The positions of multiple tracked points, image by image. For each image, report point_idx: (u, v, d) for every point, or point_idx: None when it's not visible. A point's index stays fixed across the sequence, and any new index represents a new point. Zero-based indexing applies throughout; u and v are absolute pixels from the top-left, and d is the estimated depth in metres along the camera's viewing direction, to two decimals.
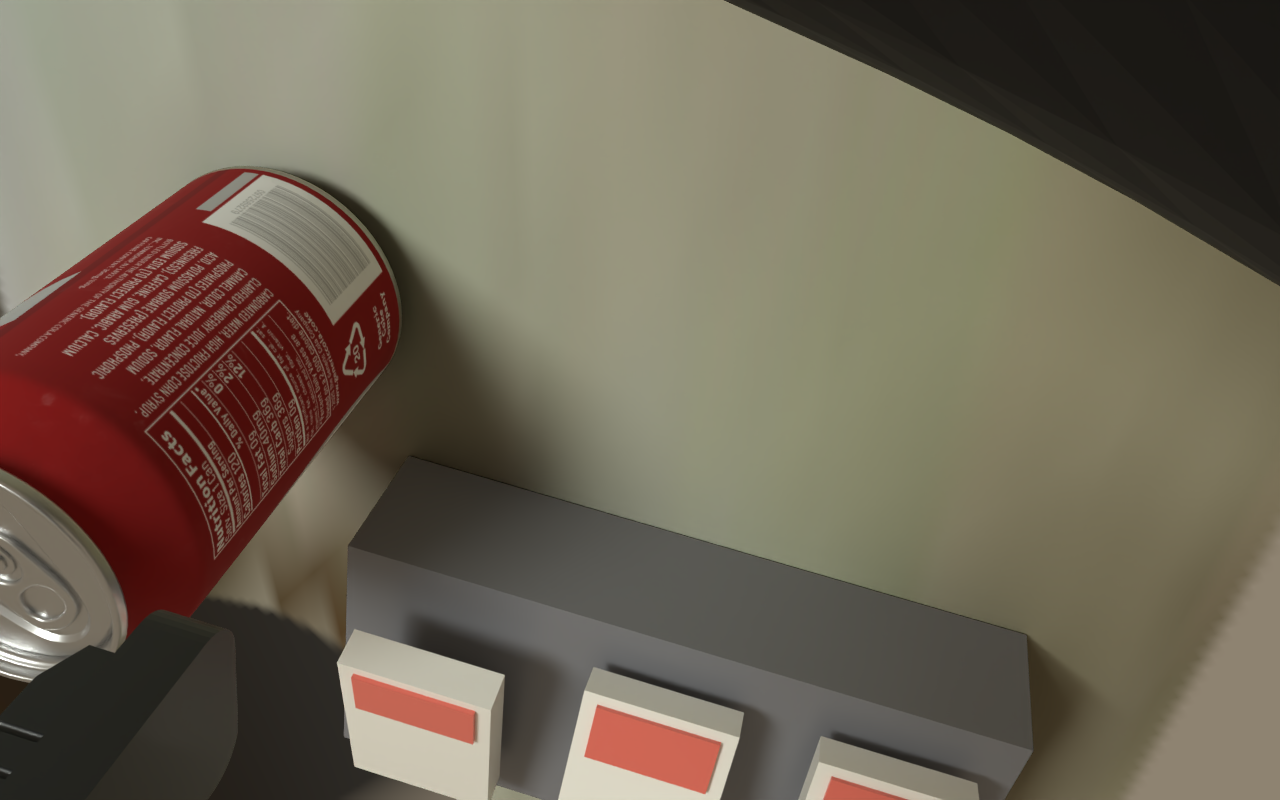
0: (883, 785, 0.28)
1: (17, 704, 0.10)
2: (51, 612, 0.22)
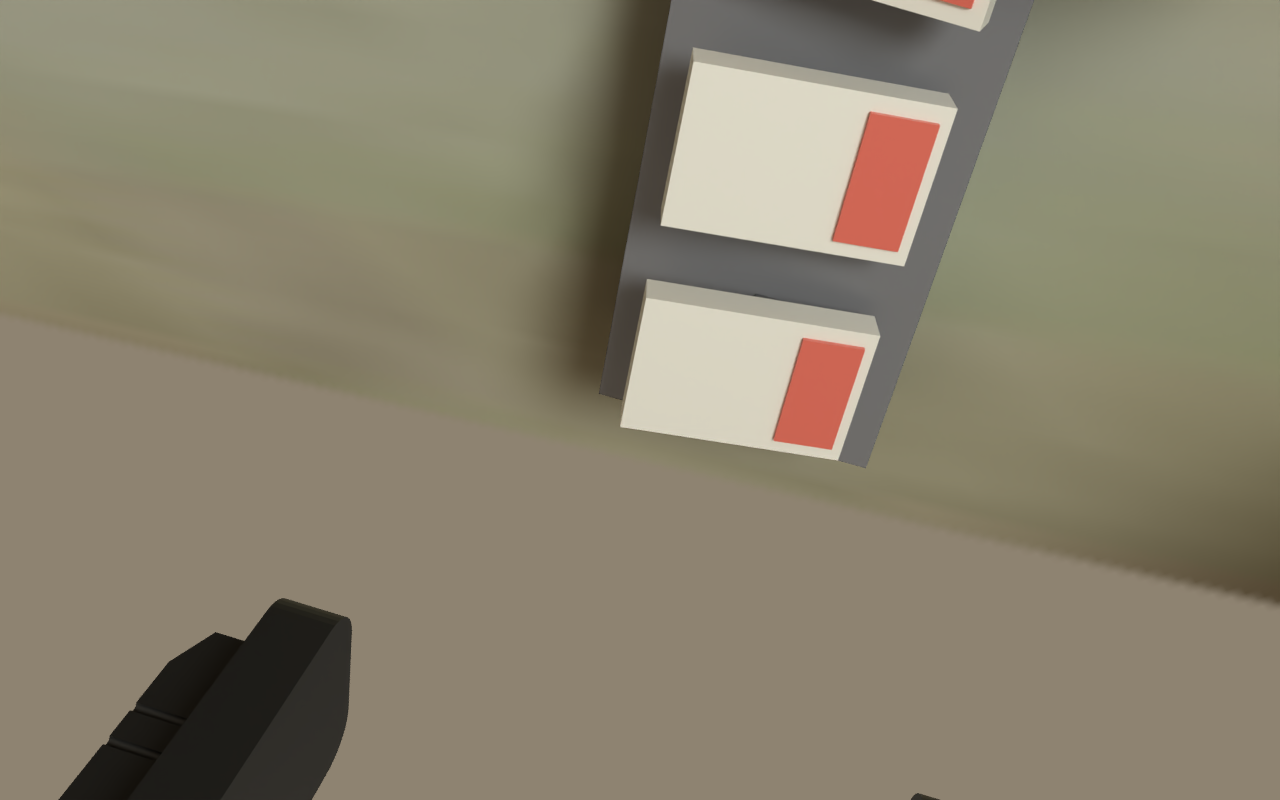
0: (856, 388, 0.30)
1: (154, 688, 0.11)
2: None
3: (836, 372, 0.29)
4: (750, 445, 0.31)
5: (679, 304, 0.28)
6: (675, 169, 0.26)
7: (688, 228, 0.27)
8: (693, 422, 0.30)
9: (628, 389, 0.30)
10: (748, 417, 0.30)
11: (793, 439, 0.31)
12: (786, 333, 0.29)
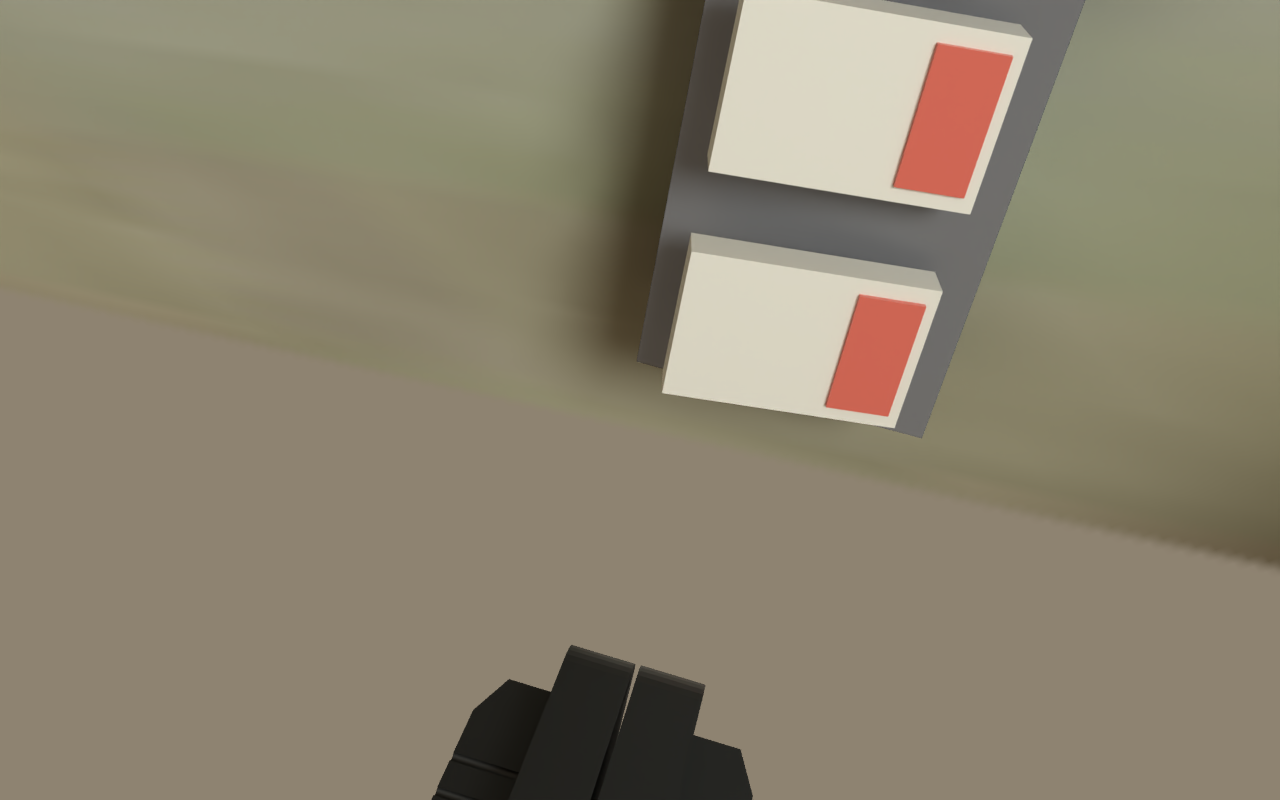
0: (915, 349, 0.28)
1: (468, 737, 0.11)
2: None
3: (894, 332, 0.27)
4: (800, 412, 0.29)
5: (727, 258, 0.26)
6: (725, 109, 0.24)
7: (737, 174, 0.25)
8: (740, 387, 0.28)
9: (671, 352, 0.28)
10: (799, 382, 0.28)
11: (847, 405, 0.29)
12: (841, 289, 0.27)
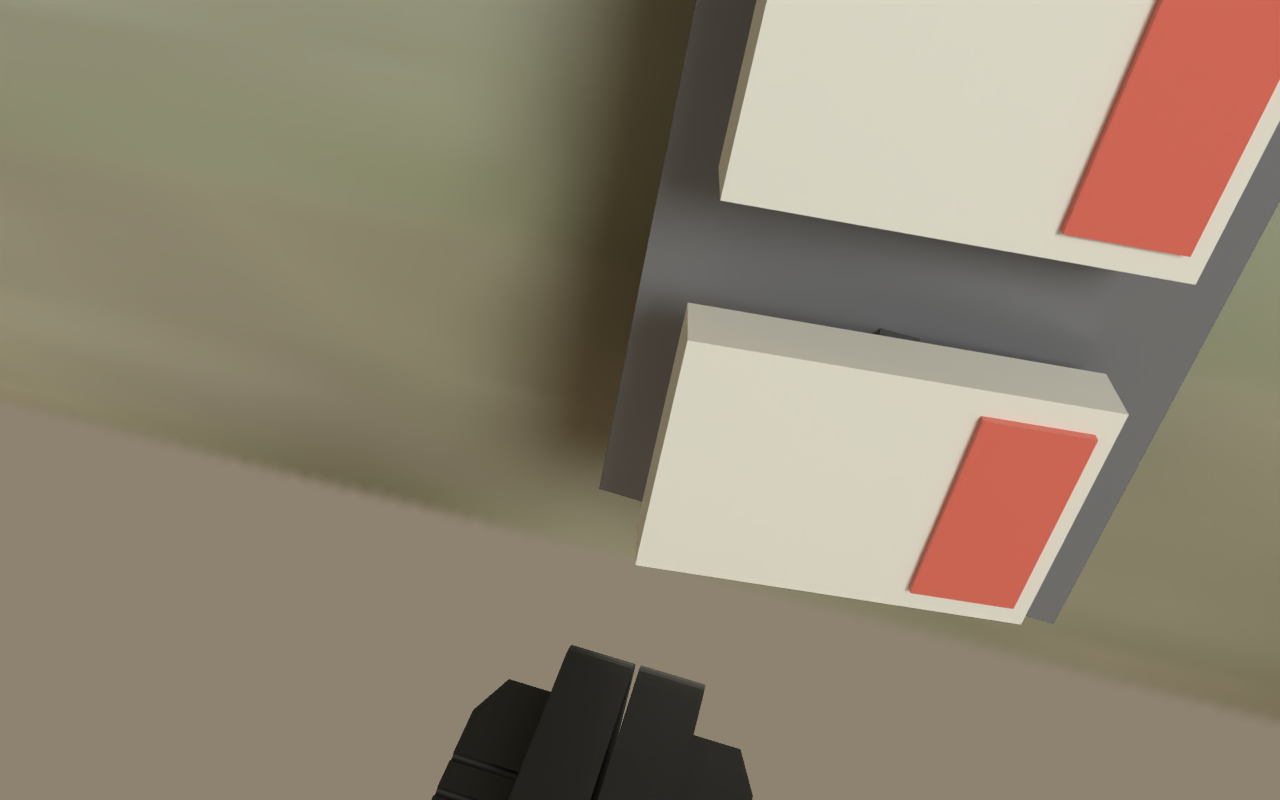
0: (1070, 505, 0.16)
1: (468, 737, 0.11)
2: None
3: (1036, 478, 0.16)
4: (866, 598, 0.17)
5: (751, 353, 0.15)
6: (754, 84, 0.13)
7: (773, 206, 0.14)
8: (767, 559, 0.17)
9: (651, 502, 0.16)
10: (866, 552, 0.17)
11: (945, 590, 0.17)
12: (950, 408, 0.15)
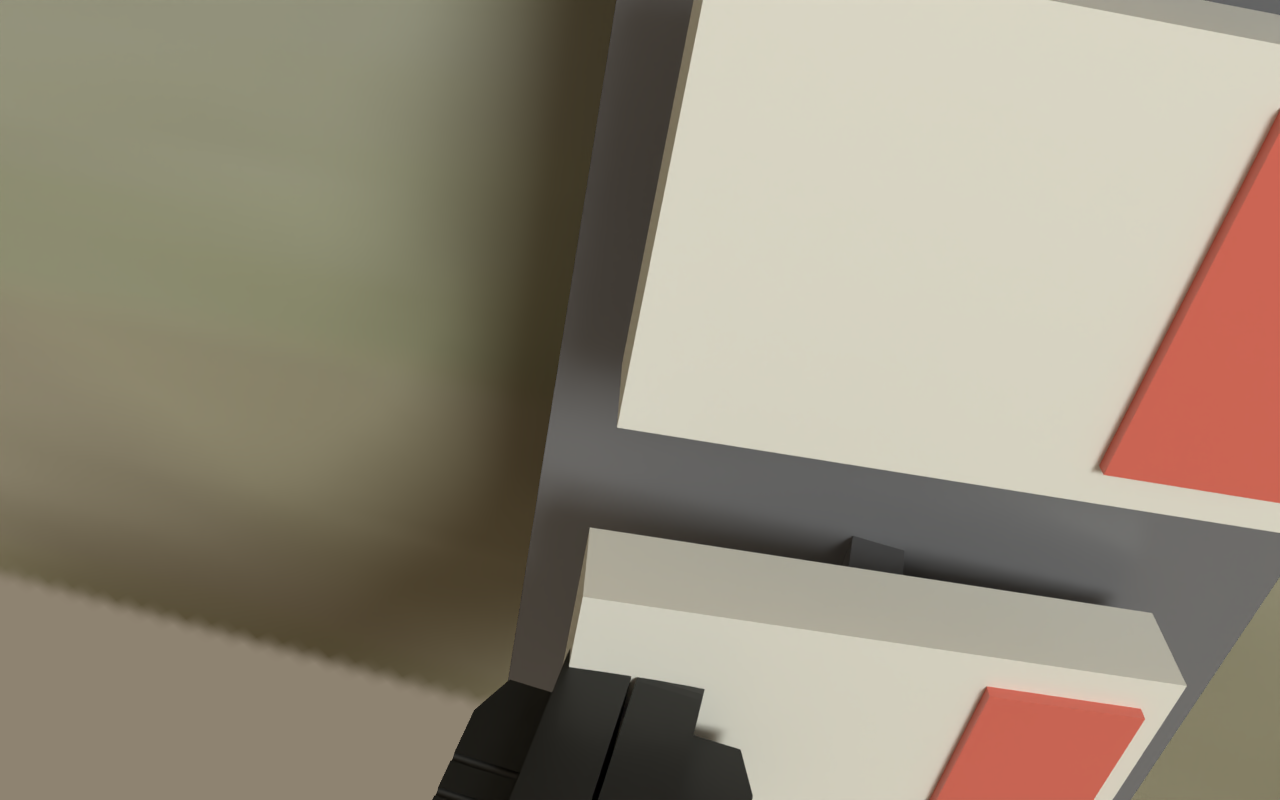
0: (1104, 785, 0.12)
1: (469, 737, 0.11)
2: None
3: (1060, 756, 0.12)
4: None
5: (670, 612, 0.11)
6: (657, 279, 0.09)
7: (693, 432, 0.10)
8: None
9: None
10: None
11: None
12: (944, 677, 0.11)
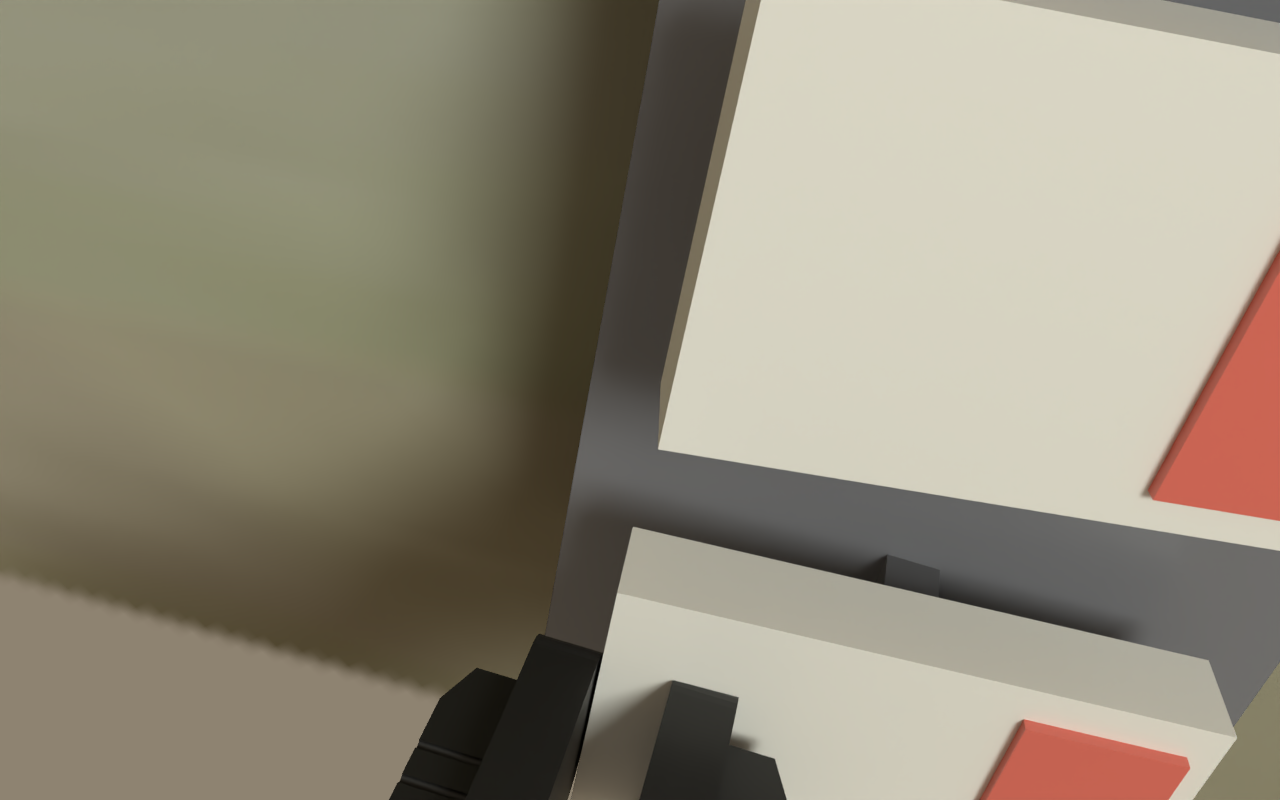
0: None
1: (434, 725, 0.11)
2: None
3: None
4: None
5: (703, 615, 0.11)
6: (702, 300, 0.09)
7: (734, 454, 0.10)
8: None
9: (578, 774, 0.12)
10: None
11: None
12: (979, 706, 0.11)
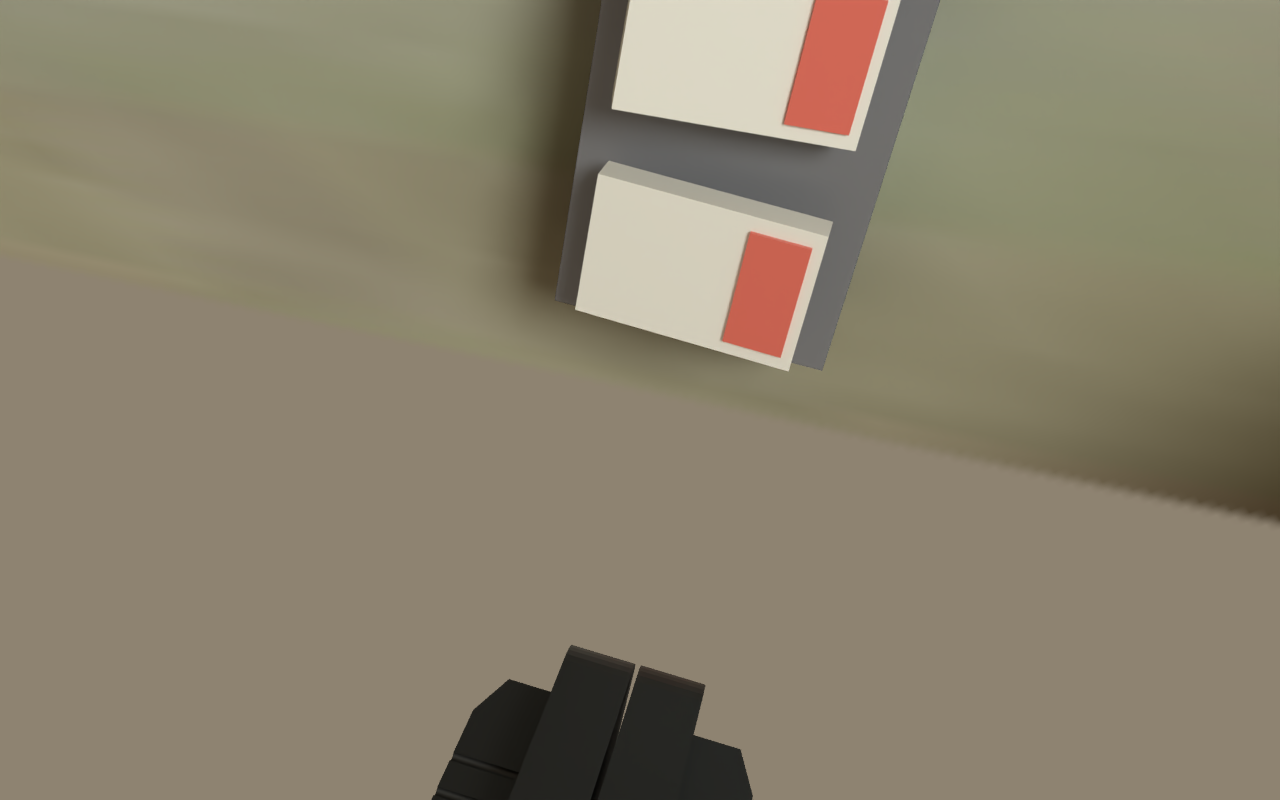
0: (806, 292, 0.29)
1: (468, 737, 0.11)
2: None
3: (785, 273, 0.29)
4: (700, 344, 0.31)
5: (629, 183, 0.29)
6: (625, 49, 0.26)
7: (638, 112, 0.27)
8: (644, 312, 0.31)
9: (582, 270, 0.30)
10: (698, 313, 0.30)
11: (742, 342, 0.30)
12: (734, 225, 0.29)
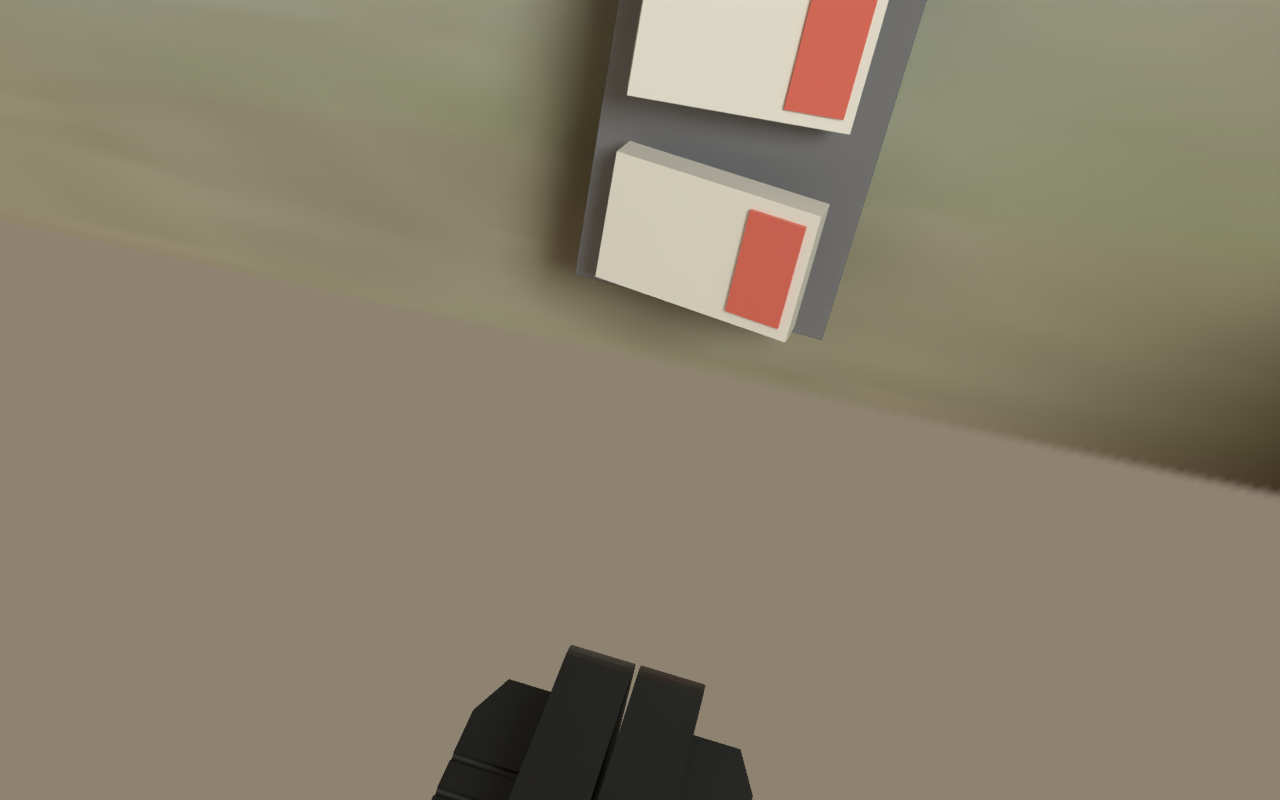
0: (801, 268, 0.32)
1: (468, 737, 0.11)
2: None
3: (782, 249, 0.31)
4: (706, 313, 0.33)
5: (644, 161, 0.32)
6: (639, 40, 0.29)
7: (651, 98, 0.30)
8: (656, 281, 0.33)
9: (602, 240, 0.33)
10: (704, 284, 0.33)
11: (743, 313, 0.33)
12: (736, 202, 0.31)
